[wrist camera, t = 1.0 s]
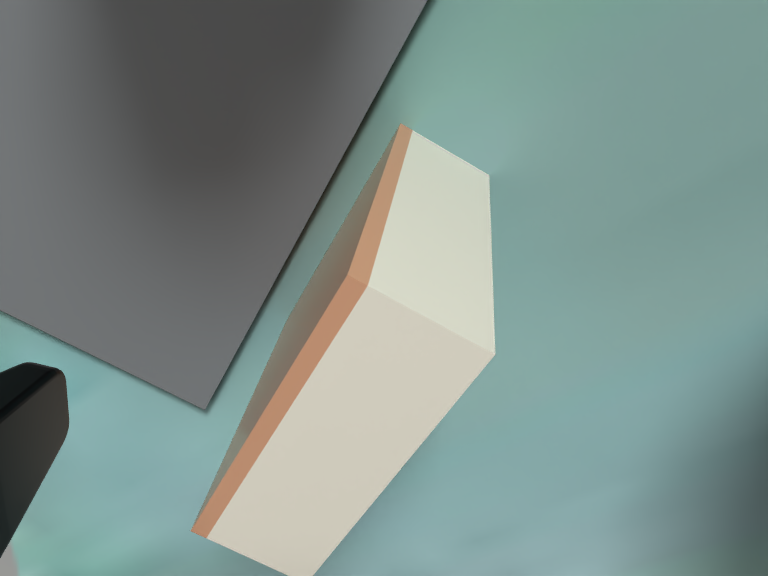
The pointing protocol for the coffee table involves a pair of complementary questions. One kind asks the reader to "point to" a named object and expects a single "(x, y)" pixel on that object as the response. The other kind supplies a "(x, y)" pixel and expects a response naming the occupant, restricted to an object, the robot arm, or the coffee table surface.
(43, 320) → the mat
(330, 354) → the cream rectangular block
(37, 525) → the coffee table surface
